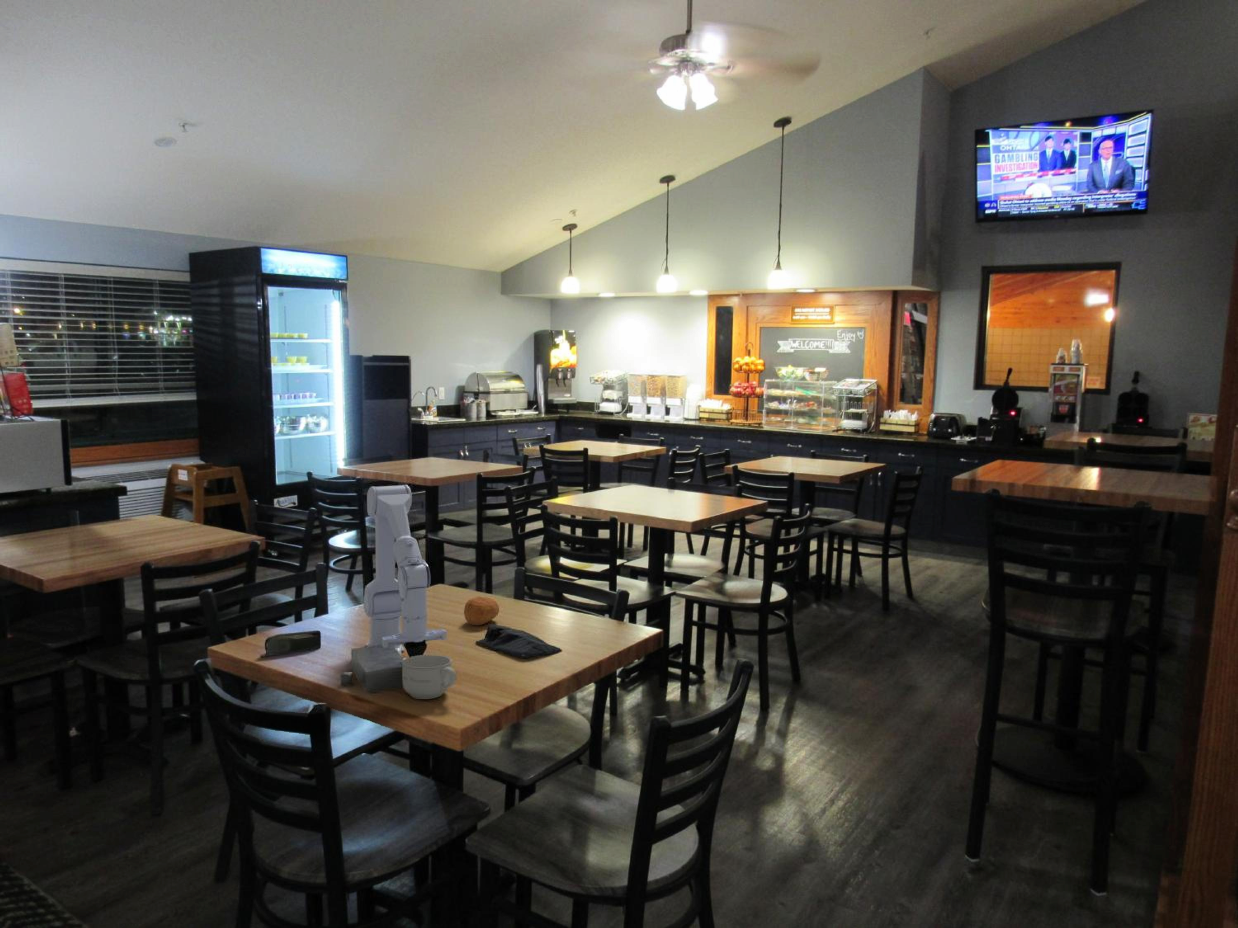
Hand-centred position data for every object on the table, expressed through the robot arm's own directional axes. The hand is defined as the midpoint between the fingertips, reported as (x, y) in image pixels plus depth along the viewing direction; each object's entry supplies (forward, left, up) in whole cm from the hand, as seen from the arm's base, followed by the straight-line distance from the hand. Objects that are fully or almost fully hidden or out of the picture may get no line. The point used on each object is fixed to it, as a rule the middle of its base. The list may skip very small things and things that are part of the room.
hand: (415, 672), depth 197 cm
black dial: (-4, -15, -2) cm, 15 cm away
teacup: (+12, +1, -2) cm, 12 cm away
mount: (-5, -7, -2) cm, 9 cm away
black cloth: (-13, +30, -2) cm, 33 cm away
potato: (-38, +29, -2) cm, 48 cm away
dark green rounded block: (-34, -23, -2) cm, 41 cm away
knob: (-11, -5, -1) cm, 12 cm away
